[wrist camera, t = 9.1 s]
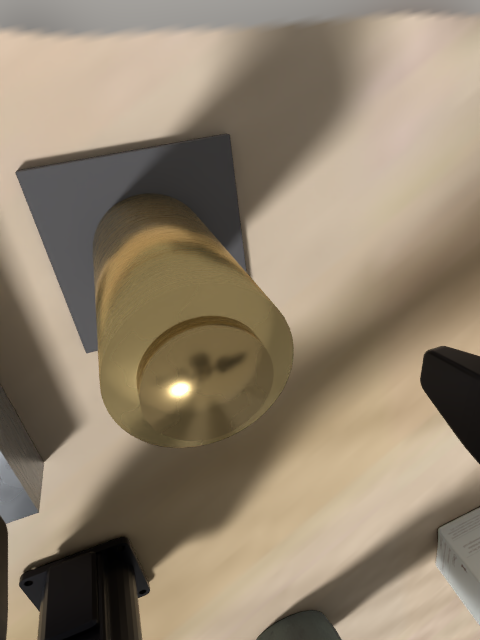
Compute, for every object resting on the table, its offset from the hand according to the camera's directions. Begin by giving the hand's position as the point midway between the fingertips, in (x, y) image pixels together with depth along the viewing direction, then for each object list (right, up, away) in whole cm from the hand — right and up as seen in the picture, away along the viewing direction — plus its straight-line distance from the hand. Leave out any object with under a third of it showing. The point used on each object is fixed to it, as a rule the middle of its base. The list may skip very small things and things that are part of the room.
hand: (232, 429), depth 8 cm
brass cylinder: (-4, +5, +9) cm, 11 cm away
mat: (-4, +5, +10) cm, 12 cm away
